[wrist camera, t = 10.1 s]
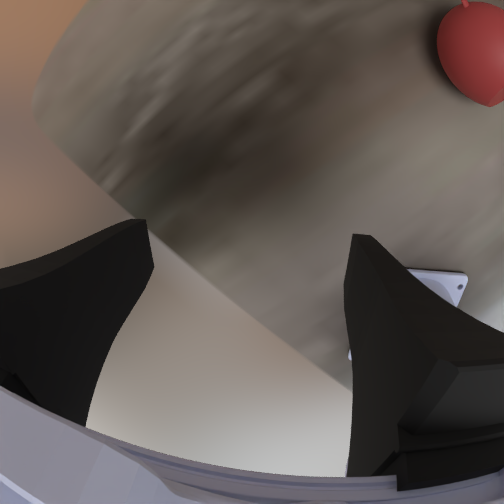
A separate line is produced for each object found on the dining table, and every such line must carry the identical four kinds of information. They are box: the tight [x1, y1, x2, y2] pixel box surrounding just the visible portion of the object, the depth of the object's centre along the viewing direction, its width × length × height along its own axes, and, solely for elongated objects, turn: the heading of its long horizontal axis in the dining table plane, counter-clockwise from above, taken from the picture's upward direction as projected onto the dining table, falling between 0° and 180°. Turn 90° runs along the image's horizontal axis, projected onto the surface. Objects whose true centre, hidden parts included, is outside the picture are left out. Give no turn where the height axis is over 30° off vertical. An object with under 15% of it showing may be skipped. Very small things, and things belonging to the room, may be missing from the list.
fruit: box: [437, 0, 504, 107], centre depth 10 cm, size 6×6×8 cm
